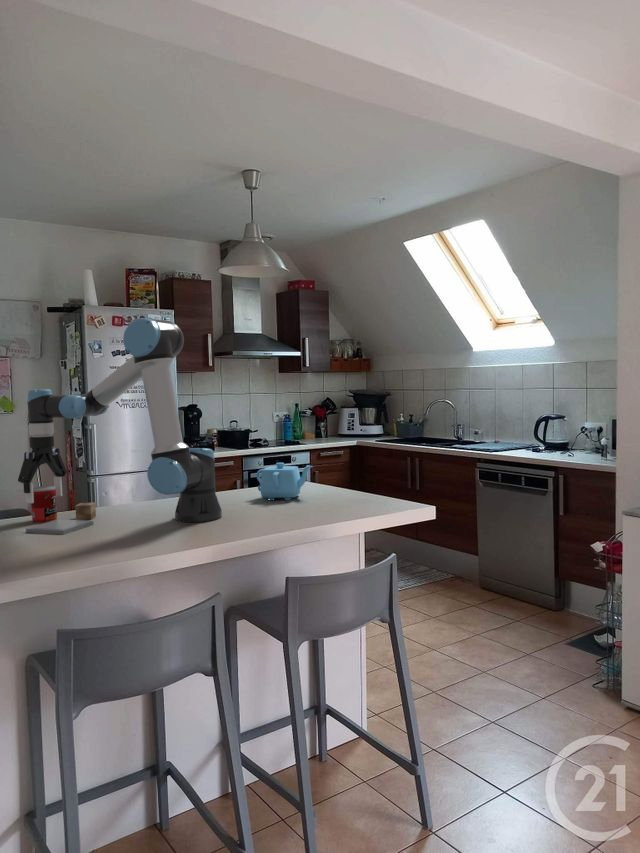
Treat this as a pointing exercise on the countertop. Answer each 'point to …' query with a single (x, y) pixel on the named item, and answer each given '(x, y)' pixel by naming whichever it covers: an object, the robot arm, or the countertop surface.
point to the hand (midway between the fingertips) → (44, 499)
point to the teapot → (281, 481)
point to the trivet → (59, 526)
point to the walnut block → (85, 511)
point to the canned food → (44, 504)
